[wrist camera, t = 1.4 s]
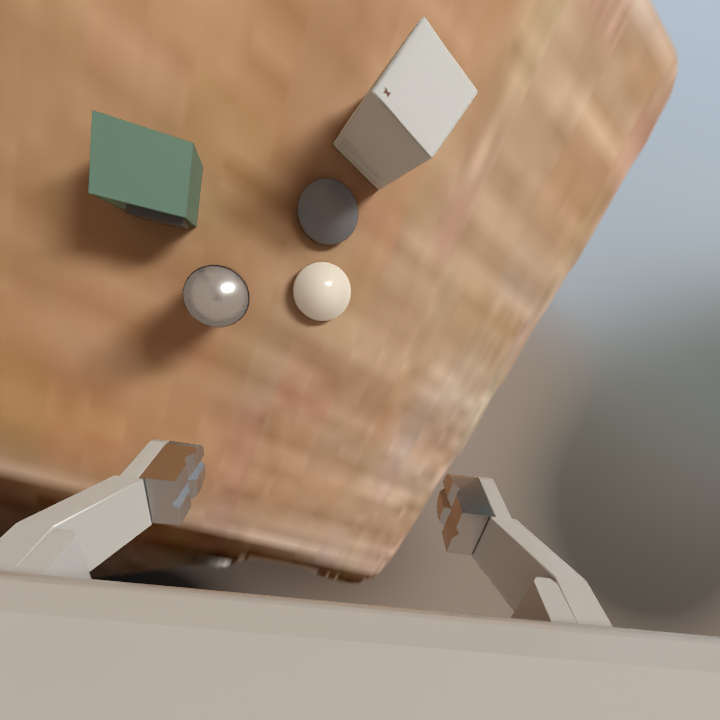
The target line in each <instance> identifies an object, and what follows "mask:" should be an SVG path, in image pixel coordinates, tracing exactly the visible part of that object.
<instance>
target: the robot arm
mask: <svg viewBox="0 0 720 720" xmlns="http://www.w3.org/2000/svg"><path fill="white" fill-rule="evenodd" d="M203 456H204V450H203V446H201V445H195V444H188V443H181V442H174V441H164V440H157V439H154V440H152V441H150V442H149V443H148V444H147V445H146V446H145V447H144V448H143V450H142V451H141V452H140V453H139V454H138V455H137V456H136V458H135V459H134V460H133V461H132V462H131V463H130V464H129V466H128V467H127V468H126V469H125V470H124V471H123V472H122V474H121V475H120V476H113V477H110V478H108V479H106V480H104V481H102V482H100V483H98V484H96V485H94V486H92V487H90V488H88V489H86V490H84V491H82V492H80V493H78V494H75V495H73V496H71V497H69V498H67V499H65V500H63V501H61V502H59V503H57V504H55V505H53V506H51V507H49V508H47V509H45V510H43V511H40V512H38V513H36V514H34V515H32V516H30V517H28V518H26V519H24V520H22V521H20V522H18V523H16V524H15V525H14V526H13V527H12V528H11V529H9V530H8V531H7V532H6V533H5V534H4V535H3V536H2V537H1V538H0V720H720V637H715V636H704V635H692V634H682V633H670V632H660V631H659V632H658V631H648V630H637V629H627V628H615V627H612V625H611V623H610V621H609V620H608V618H607V616H606V614H605V613H604V611H603V610H602V608H601V606H600V604H599V602H598V601H597V599H596V597H595V595H594V594H593V592H592V590H591V589H590V587H589V585H588V584H587V582H586V580H585V579H583V578H582V577H581V576H580V575H579V574H578V573H577V572H575V571H574V570H573V569H572V568H571V567H569V565H567V564H566V563H565V562H564V561H563V560H562V559H561V558H559V557H558V556H557V555H556V554H555V553H554V552H553V551H551V550H550V549H549V548H548V547H547V546H546V545H545V544H543V543H542V542H541V541H540V540H539V539H538V538H536V537H535V536H534V535H533V534H532V533H531V532H530V531H528V530H527V529H526V528H525V527H524V526H523V525H522V524H520V523H519V522H518V521H517V520H514V519H511V517H510V514H509V512H508V510H507V508H506V506H505V504H504V502H503V500H502V497H501V495H500V493H499V491H498V489H497V487H496V485H495V483H494V481H493V480H492V479H491V478H485V477H473V476H464V475H454V474H447V475H446V476H445V478H444V481H443V483H444V487H445V488H444V489H443V490H441V491H440V493H439V496H438V502H437V513H438V518H439V521H440V522H441V523H442V524H443V525H444V529H443V531H442V535H443V539H444V543H445V547H446V551H447V552H450V553H458V554H465V555H466V554H467V555H473V556H472V557H473V558H474V560H475V561H476V562H477V564H478V565H479V566H480V568H481V569H482V570H483V571H484V573H485V574H486V575H487V577H488V578H489V579H490V581H491V582H492V583H493V585H494V586H495V587H496V588H497V590H498V591H499V592H500V594H501V595H502V596H503V598H504V599H505V600H506V601H507V603H508V604H509V605H510V607H511V608H512V609H513V611H514V613H513V615H512V616H511V618H507V617H496V616H486V615H475V614H464V613H453V612H441V611H431V610H420V609H409V608H398V607H387V606H376V605H365V604H354V603H342V602H332V601H321V600H310V599H300V598H288V597H278V596H266V595H257V594H246V593H234V592H224V591H212V590H202V589H192V588H179V587H170V586H158V585H148V584H137V583H126V582H116V581H105V580H94V579H91V576H90V573H89V572H90V571H91V570H92V569H94V568H95V567H96V566H98V565H99V564H100V563H102V562H103V561H104V560H106V559H107V558H108V557H110V556H111V555H112V554H113V553H115V552H116V551H117V550H119V549H120V548H121V547H123V546H124V545H125V544H127V543H128V542H129V541H130V540H132V539H133V538H134V537H136V536H137V535H138V534H140V533H141V532H142V531H144V530H145V529H146V528H148V527H149V526H150V525H151V524H152V523H163V524H177V525H181V523H182V522H183V520H184V518H185V516H186V515H187V513H188V511H189V509H190V507H191V501H190V499H192V498H193V497H195V496H196V495H198V493H199V491H200V489H201V487H202V484H203V481H204V478H205V465H204V463H203V462H202V461H201V459H202V457H203Z"/></svg>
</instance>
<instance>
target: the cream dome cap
mask: <svg viewBox="0 0 720 720" xmlns="http://www.w3.org/2000/svg"><path fill="white" fill-rule="evenodd" d="M350 296H351V288H350V283H349V280H348V278H347V276H346V275H345V273H344V272H343V271H342V270H341V269H340V268H339V267H337V266H335V265H333V264H331V263H327V262H317V263H312V264H309V265H307V266H306V267H304V268H303V269H302V270H301V271H300V272H299V273H298V274H297V276H296V278H295V280H294V284H293V298H294V301H295V303H296V305H297V307H298V308H299V309H300V311H301V312H302V313H304V314H305V315H306V316H308V317H309V318H311V319H314V320H318V321H327V320H331V319H334V318H336V317H338V316H339V315H340V314H341V313H342V312H343V311H344V310H345V309H346V307H347V305H348V303H349V300H350Z"/></svg>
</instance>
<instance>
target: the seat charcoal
mask: <svg viewBox="0 0 720 720" xmlns="http://www.w3.org/2000/svg"><path fill="white" fill-rule="evenodd" d="M297 216H298V220H299V224H300V226H301V228H302V230H303V231H304V233H305V234H306V235H307V236H308V237H309V238H310V239H312V240H313V241H315V242H317V243H319V244H323V245H333V244H337V243H340V242H342V241H344V240H346V239H347V238H348V237H349V236H350V235H351V234H352V233H353V231H354V229H355V227H356V225H357V221H358V207H357V203H356V200H355V198H354V196H353V194H352V192H351V191H350V190H349V189H348V188H347V187H346V186H345V185H344V184H342V183H341V182H339V181H337V180H334V179H328V178H323V179H319V180H316V181H314V182H312V183H311V184H309V185H308V186H307V187H306V188H305V190H304V191H303V193H302V194H301V196H300V198H299V201H298V205H297Z"/></svg>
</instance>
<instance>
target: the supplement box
mask: <svg viewBox="0 0 720 720" xmlns="http://www.w3.org/2000/svg"><path fill="white" fill-rule="evenodd" d="M477 93H478V91H477V90H476V88H475V87H474V85H473V84H472V83H471V81H470V80H469V78H468V77H467V76H466V74H465V73H464V72H463V70H462V69H461V67H460V66H459V65H458V63H457V62H456V60H455V59H454V58H453V56H452V55H451V54H450V52H449V51H448V50H447V48H446V47H445V46H444V44H443V43H442V41H441V40H440V38H439V37H438V35H437V34H436V32H435V31H434V30H433V28H432V27H431V25H430V24H429V22H428V21H427V19H426V18H425V17H423V18H421V19H420V21H419V22H418V23H417V25H416V26H415V27H414V29H413V30H412V31H411V33H410V34H409V35H408V37H407V38H406V40H405V41H404V42H403V44H402V45H401V46H400V48H399V49H398V51H397V52H396V53H395V55H394V56H393V57H392V59H391V60H390V62H389V63H388V64H387V66H386V67H385V69H384V70H383V71H382V73H381V74H380V76H379V77H378V78H377V80H376V81H375V83H374V84H373V85H372V87H371V88H370V90H369V91H368V93H367V94H366V95H365V97H364V98H363V100H362V101H361V103H360V104H359V105H358V107H357V108H356V110H355V111H354V112H353V114H352V115H351V117H350V118H349V120H348V121H347V123H346V124H345V126H344V128H343V129H342V131H341V132H340V134H339V135H338V137H337V139H336V140H335V142H334V143H333V145H334V146H335V147H336V148H337V149H338V150H339V151H340V152H341V153H342V154H343V155H344V156H345V157H346V158H347V159H348V160H349V161H350V162H351V163H352V164H353V165H354V166H355V167H356V168H357V169H358V170H359V171H360V172H361V173H362V174H363V175H364V176H365V177H366V178H367V179H368V180H369V181H370V182H371V183H372V184H373V185H374V186H375V187H376V188H377V189H378V190H379V189H381V188H383V187H385V186H386V185H388V184H390V183H391V182H393V181H394V180H396V179H398V178H399V177H401V176H403V175H404V174H406V173H408V172H409V171H411V170H412V169H414V168H416V167H417V166H419V165H421V164H422V163H424V162H426V161H427V160H429V159H431V158H432V157H433V156H434V155H435V153H436V152H437V151H438V149H439V148H440V146H441V145H442V144H443V142H444V141H445V139H446V138H447V136H448V135H449V133H450V132H451V131H452V129H453V128H454V126H455V125H456V123H457V122H458V121H459V119H460V118H461V116H462V115H463V113H464V112H465V110H466V109H467V108H468V106H469V105H470V103H471V102H472V100H473V99H474V97H475V96H476V94H477Z"/></svg>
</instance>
